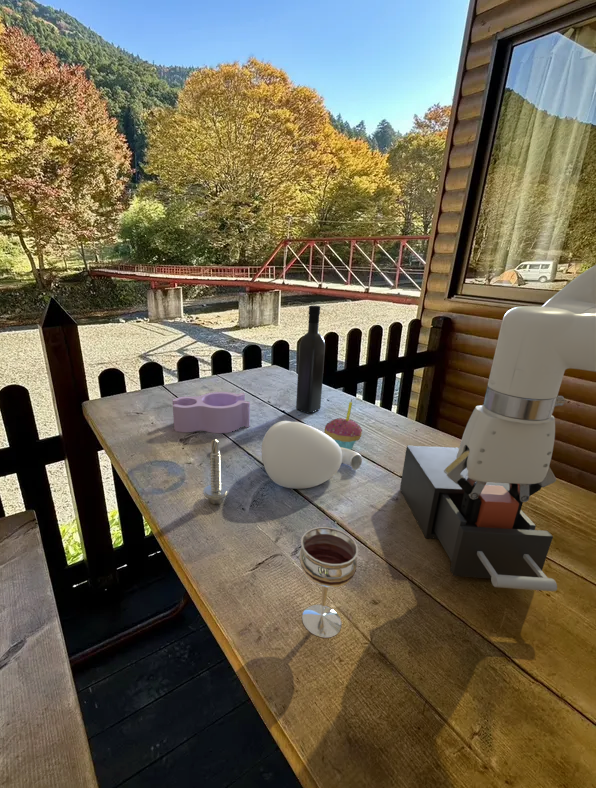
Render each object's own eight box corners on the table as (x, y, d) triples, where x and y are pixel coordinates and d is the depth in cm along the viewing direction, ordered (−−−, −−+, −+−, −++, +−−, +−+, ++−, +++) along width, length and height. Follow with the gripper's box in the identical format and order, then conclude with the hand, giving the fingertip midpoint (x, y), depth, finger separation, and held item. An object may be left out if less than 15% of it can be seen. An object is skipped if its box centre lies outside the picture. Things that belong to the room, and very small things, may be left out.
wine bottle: (294, 409, 121) (299, 306, 110) (306, 404, 124) (312, 304, 114) (310, 414, 117) (317, 308, 106) (321, 409, 120) (329, 306, 110)
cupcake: (337, 436, 103) (342, 392, 99) (367, 448, 97) (373, 401, 93) (315, 447, 98) (319, 400, 94) (346, 460, 92) (351, 411, 88)
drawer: (566, 617, 52) (584, 568, 49) (471, 610, 53) (484, 562, 50) (490, 521, 70) (501, 481, 67) (421, 517, 71) (428, 478, 68)
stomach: (367, 498, 85) (299, 459, 106) (383, 437, 84) (311, 410, 105) (278, 497, 75) (221, 453, 96) (294, 427, 73) (233, 399, 94)
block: (495, 511, 62) (502, 485, 61) (511, 530, 58) (519, 503, 56) (464, 509, 63) (470, 484, 61) (478, 528, 58) (485, 501, 57)
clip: (175, 436, 104) (173, 411, 101) (173, 417, 115) (171, 394, 113) (252, 430, 107) (252, 406, 104) (242, 412, 118) (242, 390, 116)
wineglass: (324, 592, 57) (331, 520, 53) (360, 629, 51) (371, 552, 47) (284, 611, 54) (288, 537, 50) (318, 653, 48) (326, 574, 44)
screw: (231, 506, 76) (205, 509, 75) (226, 491, 81) (201, 494, 80) (230, 443, 72) (203, 446, 71) (225, 432, 76) (199, 434, 75)
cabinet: (506, 543, 66) (521, 492, 63) (425, 538, 67) (435, 488, 64) (466, 492, 80) (476, 448, 76) (399, 488, 81) (406, 445, 78)
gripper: (567, 395, 56) (533, 506, 63) (439, 391, 58) (419, 500, 65) (609, 416, 49) (566, 539, 56) (462, 411, 51) (436, 531, 58)
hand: (487, 517), depth 60 cm, fingers closed on block, 4 cm apart
